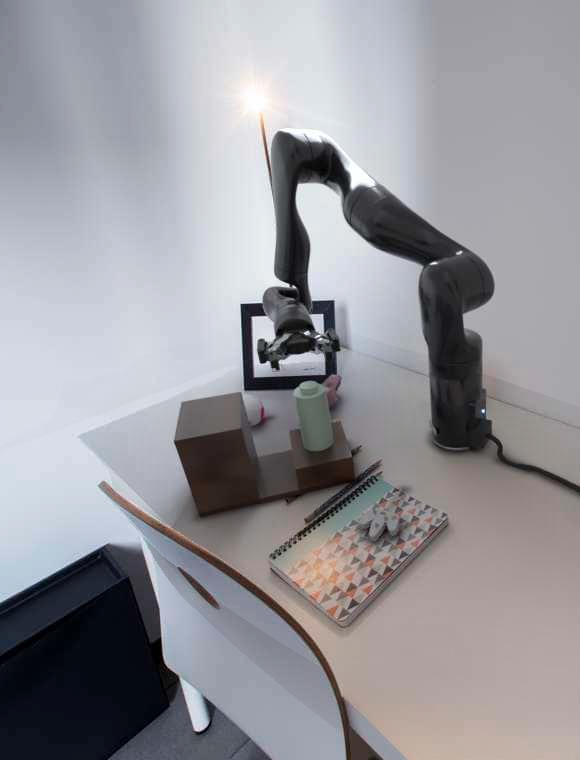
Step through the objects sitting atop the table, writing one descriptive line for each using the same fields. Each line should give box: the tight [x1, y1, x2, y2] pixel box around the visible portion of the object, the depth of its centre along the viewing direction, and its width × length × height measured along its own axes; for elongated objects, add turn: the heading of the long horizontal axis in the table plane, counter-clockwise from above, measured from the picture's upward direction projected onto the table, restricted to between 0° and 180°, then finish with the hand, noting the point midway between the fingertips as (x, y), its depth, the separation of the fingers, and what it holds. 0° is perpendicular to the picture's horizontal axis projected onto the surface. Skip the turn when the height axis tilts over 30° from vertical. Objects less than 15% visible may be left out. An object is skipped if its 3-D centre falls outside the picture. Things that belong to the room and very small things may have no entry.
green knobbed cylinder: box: [292, 380, 334, 451], centre depth 86 cm, size 5×5×11 cm
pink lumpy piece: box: [320, 373, 343, 409], centre depth 109 cm, size 10×5×7 cm, turn 179°
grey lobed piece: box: [359, 487, 405, 543], centre depth 79 cm, size 6×12×3 cm, turn 0°
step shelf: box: [173, 391, 357, 518], centre depth 85 cm, size 24×12×14 cm, turn 109°
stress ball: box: [242, 394, 270, 427], centre depth 104 cm, size 8×8×7 cm
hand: (302, 361), depth 90 cm, fingers open, 8 cm apart
